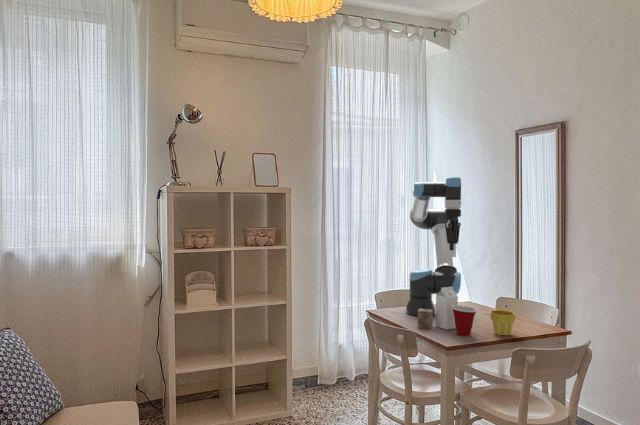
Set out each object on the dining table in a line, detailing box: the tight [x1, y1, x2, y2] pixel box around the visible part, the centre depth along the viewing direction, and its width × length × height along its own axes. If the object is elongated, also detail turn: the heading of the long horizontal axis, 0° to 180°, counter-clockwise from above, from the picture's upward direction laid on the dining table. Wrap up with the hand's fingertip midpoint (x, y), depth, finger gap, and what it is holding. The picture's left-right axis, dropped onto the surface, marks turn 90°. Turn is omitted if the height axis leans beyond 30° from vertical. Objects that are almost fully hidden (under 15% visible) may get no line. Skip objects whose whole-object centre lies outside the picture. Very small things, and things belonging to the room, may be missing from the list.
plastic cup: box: [452, 305, 478, 337], centre depth 208 cm, size 11×11×12 cm
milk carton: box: [435, 287, 459, 330], centre depth 220 cm, size 7×7×19 cm
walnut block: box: [417, 308, 434, 330], centre depth 221 cm, size 6×6×8 cm
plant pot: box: [489, 309, 516, 336], centre depth 209 cm, size 10×10×10 cm
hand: (452, 256), depth 229 cm, fingers closed
